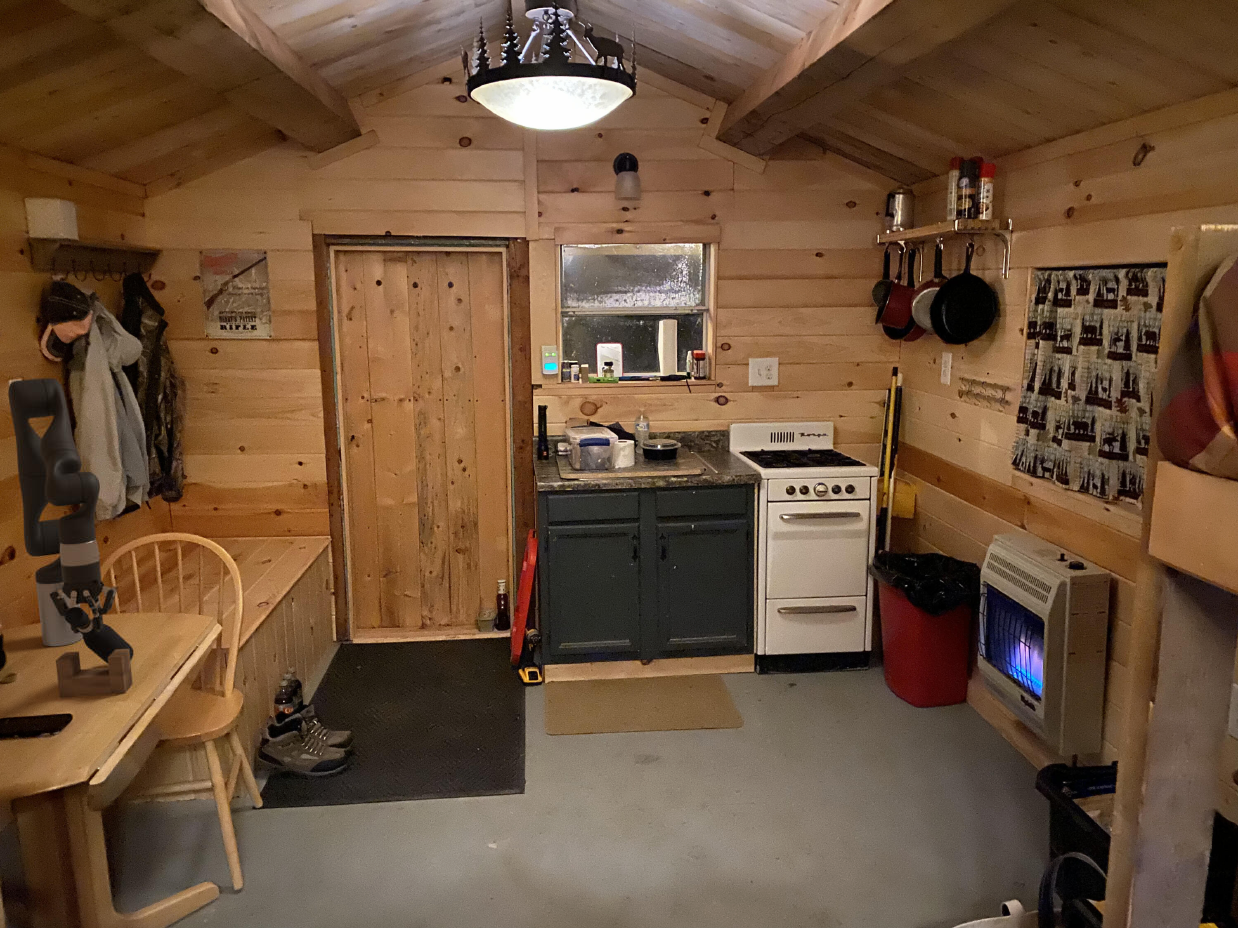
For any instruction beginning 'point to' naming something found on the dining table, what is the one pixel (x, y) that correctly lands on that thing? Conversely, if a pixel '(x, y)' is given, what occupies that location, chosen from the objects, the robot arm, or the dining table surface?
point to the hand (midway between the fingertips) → (87, 631)
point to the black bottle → (96, 634)
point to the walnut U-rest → (94, 675)
